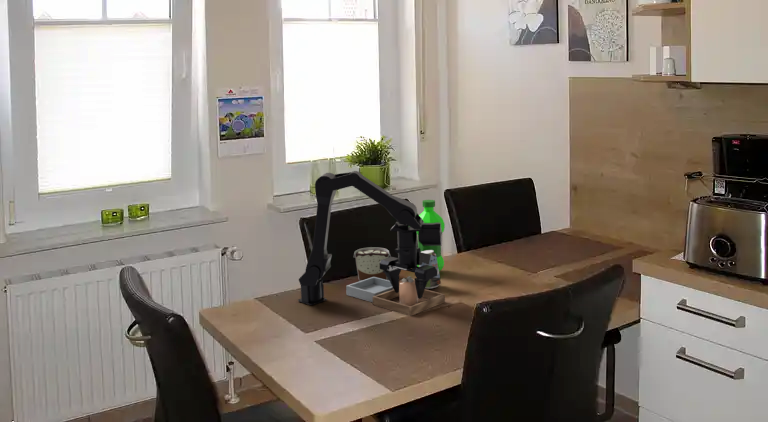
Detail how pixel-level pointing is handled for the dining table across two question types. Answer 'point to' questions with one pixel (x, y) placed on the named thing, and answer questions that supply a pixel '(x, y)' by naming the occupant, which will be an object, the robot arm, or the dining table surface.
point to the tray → (368, 288)
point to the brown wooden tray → (385, 302)
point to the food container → (370, 262)
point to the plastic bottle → (432, 217)
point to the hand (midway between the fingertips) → (408, 295)
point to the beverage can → (433, 262)
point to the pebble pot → (408, 291)
